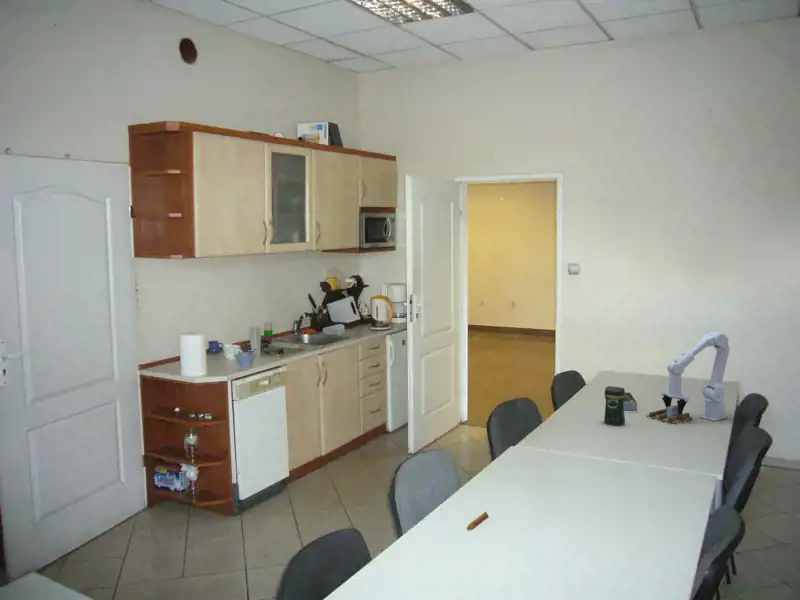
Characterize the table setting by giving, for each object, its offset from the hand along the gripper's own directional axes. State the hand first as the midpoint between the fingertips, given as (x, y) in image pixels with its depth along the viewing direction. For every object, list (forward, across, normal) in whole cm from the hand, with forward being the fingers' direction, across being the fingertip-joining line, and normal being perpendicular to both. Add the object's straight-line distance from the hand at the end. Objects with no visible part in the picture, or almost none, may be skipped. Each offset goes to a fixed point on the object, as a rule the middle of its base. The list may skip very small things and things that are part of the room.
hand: (674, 412), depth 345 cm
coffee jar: (+4, -13, -29) cm, 32 cm away
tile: (+3, 0, 0) cm, 3 cm away
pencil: (+5, +39, -156) cm, 161 cm away
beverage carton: (+4, -30, 0) cm, 30 cm away
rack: (+4, -3, 0) cm, 5 cm away
